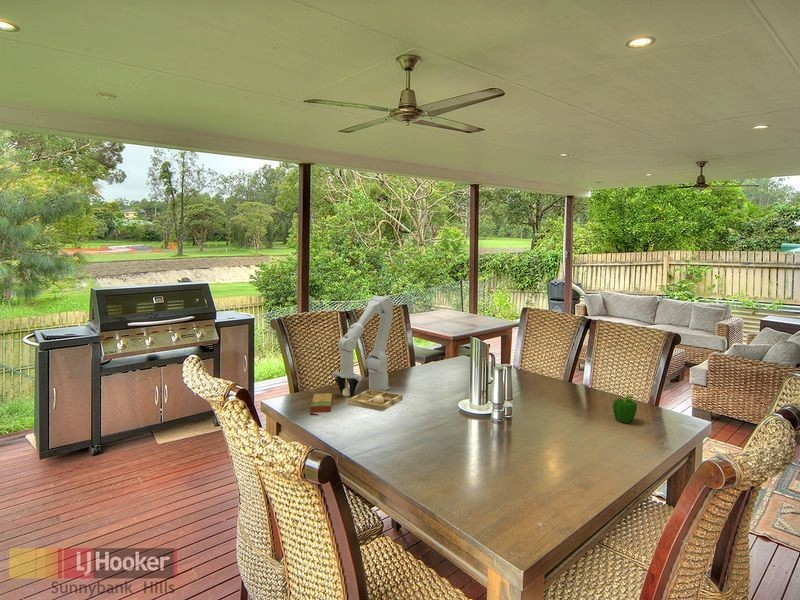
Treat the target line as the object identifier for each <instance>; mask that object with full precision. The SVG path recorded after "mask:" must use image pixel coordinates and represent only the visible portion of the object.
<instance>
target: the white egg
mask: <svg viewBox="0 0 800 600" xmlns="http://www.w3.org/2000/svg"><path fill="white" fill-rule="evenodd" d="M341 395H342V396H343V397H351V396H350V387H349V386H345V388H344V389H343V391H342V394H341Z"/></svg>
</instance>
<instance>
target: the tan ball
mask: <svg viewBox="0 0 800 600" xmlns="http://www.w3.org/2000/svg"><path fill="white" fill-rule="evenodd" d="M373 403H374V404H378V405H383V403H384V398H383V397H382V396H381V395H376V396H375V397H374V398H373Z"/></svg>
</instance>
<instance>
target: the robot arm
mask: <svg viewBox="0 0 800 600" xmlns="http://www.w3.org/2000/svg"><path fill="white" fill-rule="evenodd" d="M394 304H395V303H394V302H393V300H392V299H391V298H390V297H389V296H381V295H377V294H376V295H373V296H371V298H370V299H369V300H368V302H367V306H366V307H365V309H364V311H363V313H362V314H361V316H360V318H359V319H358V320H357V322H355V323H353V324H351V325H350V328H349V329H348V330H347V332H346V333H345V334H344V336H342V337H341V338H339V341H338V343H337V347H338V349H339V353H340V357H339V358H340V371H332V377H333V378H335V377H336V378H335V383H336V384H337V386H338V388H339V392H340V395H343V394H342V391H343V389H344V388H345V387H346V381H347V379H348V381H347V383H348V385H349V386H348V387H350V396H349V397H353V396H355V392H356V388H357V386H358V383H359V382H360V381H363V375H360V374H357V373H354V372H355V371H354V370H355V367H354V366H355V365H354V350H355V349H356V348H357V343H358V340H359V338H361V336H362V335H363V333H364V332H365V326H366V325H367V323H368V322H369V321H370V320H371V318H372V317H373V316H374V315H375V314H378V315H379V317H380V319H379V324H378V329H377V332H376V337H375V342H374V346H373V350H372V351H369V353H368V357H367V358H366V359H365V366H366V368H367V369H368V389H372V390H378V391H388V390H390V386H389V373H388V372H387V370H388V367H389V366H388V365H389V364H388V358H389V357H388V355H387V354H386V351H387V350H386V349H387V345H388V341H389V336H390V331H391V327H392V322H393V319H394V310H393V308H394ZM387 389H388V390H387Z"/></svg>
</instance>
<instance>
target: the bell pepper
mask: <svg viewBox="0 0 800 600" xmlns="http://www.w3.org/2000/svg"><path fill="white" fill-rule="evenodd" d="M633 398H634V397H633V396H632V395H627V396H625V397H624V398H623V399H622V398H620V397H619V398H617V399H613V402H612V410H613V414H614V415H613V416H614V418H615V420H616V421H618V422H620V423H624V424H626V423H627V424H629V423H631V422H633V421H634V419H635V417H636V413H637V410H638V405H637V402H636V401H633V400H632V399H633Z"/></svg>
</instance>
